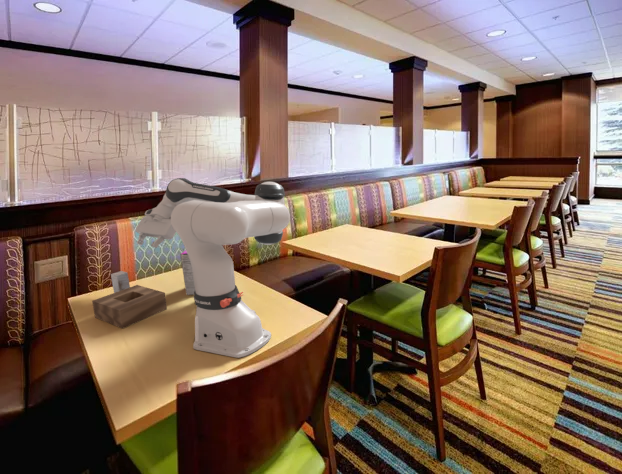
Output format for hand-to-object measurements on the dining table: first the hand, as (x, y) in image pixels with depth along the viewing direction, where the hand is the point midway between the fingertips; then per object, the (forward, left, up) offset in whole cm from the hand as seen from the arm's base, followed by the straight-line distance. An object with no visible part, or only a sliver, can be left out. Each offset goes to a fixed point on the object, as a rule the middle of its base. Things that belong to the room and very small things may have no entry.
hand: (146, 245), depth 142 cm
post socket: (-15, +18, -17) cm, 29 cm away
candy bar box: (-18, -7, -18) cm, 26 cm away
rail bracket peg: (0, +12, -17) cm, 21 cm away
